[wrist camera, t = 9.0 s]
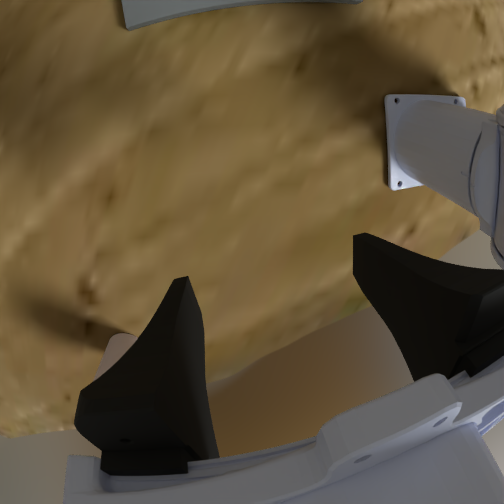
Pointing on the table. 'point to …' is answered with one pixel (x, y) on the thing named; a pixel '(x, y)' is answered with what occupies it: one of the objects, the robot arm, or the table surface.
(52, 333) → the table surface
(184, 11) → the holder
